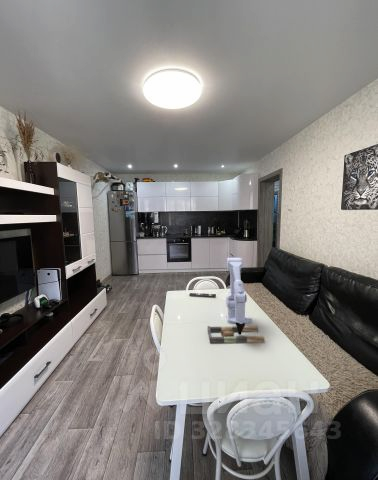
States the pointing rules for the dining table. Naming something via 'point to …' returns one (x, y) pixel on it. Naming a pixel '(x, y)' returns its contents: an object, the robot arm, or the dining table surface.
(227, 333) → the tan wooden block
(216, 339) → the trap lane
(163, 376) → the dining table surface
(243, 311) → the robot arm
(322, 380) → the dining table surface
